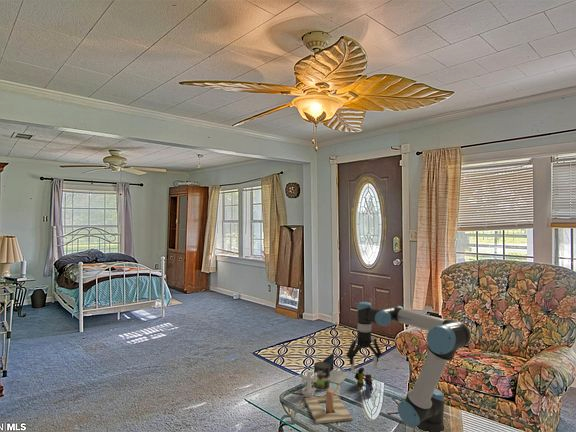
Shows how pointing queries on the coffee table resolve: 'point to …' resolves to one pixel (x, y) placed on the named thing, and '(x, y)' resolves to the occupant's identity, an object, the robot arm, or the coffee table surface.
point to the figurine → (309, 384)
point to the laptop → (335, 371)
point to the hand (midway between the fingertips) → (364, 369)
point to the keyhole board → (322, 417)
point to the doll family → (368, 381)
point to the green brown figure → (322, 376)
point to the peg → (329, 401)
